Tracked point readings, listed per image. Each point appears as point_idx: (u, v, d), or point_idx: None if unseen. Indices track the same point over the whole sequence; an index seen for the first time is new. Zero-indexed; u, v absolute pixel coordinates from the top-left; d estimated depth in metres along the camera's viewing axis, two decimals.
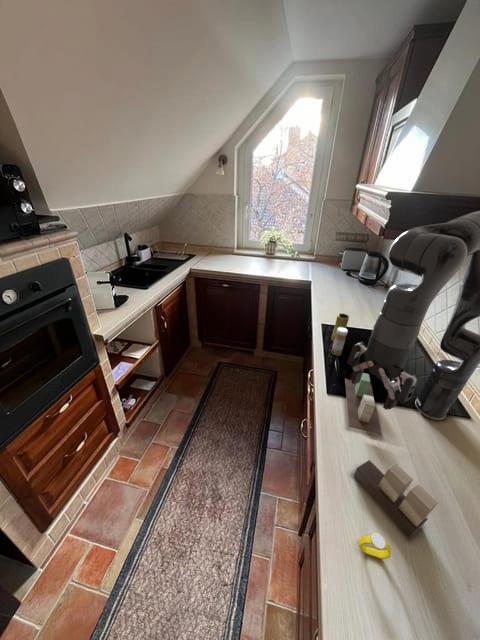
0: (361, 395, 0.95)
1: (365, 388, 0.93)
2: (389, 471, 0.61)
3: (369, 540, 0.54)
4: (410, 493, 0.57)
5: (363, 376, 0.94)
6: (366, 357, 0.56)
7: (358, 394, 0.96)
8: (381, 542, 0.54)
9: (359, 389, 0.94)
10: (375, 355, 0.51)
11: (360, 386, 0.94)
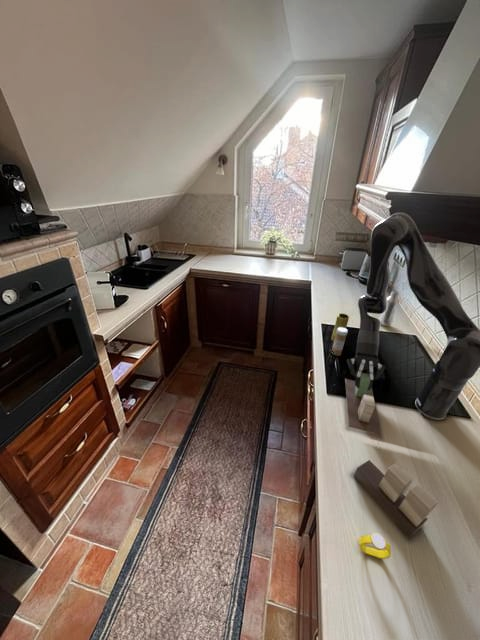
0: (361, 395, 0.95)
1: (365, 388, 0.93)
2: (389, 471, 0.61)
3: (369, 540, 0.54)
4: (410, 493, 0.57)
5: (363, 376, 0.94)
6: None
7: (358, 394, 0.96)
8: (381, 542, 0.54)
9: (359, 389, 0.94)
10: None
11: (360, 386, 0.94)
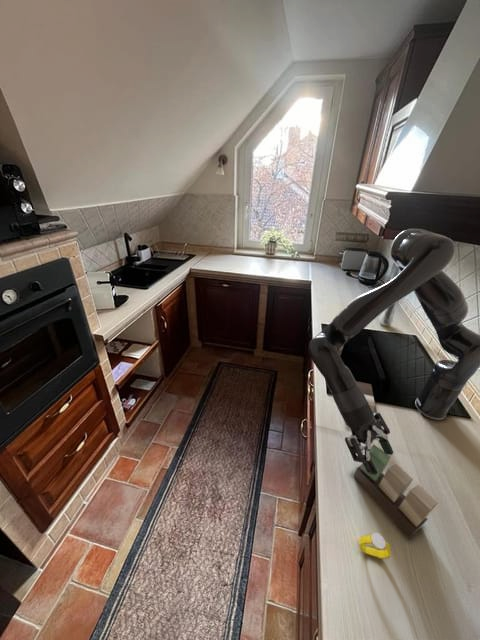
0: (379, 476, 0.67)
1: (385, 466, 0.65)
2: (389, 471, 0.61)
3: (369, 540, 0.54)
4: (410, 493, 0.57)
5: (377, 455, 0.64)
6: None
7: (377, 478, 0.66)
8: (381, 542, 0.54)
9: (380, 473, 0.65)
10: None
11: (382, 470, 0.64)
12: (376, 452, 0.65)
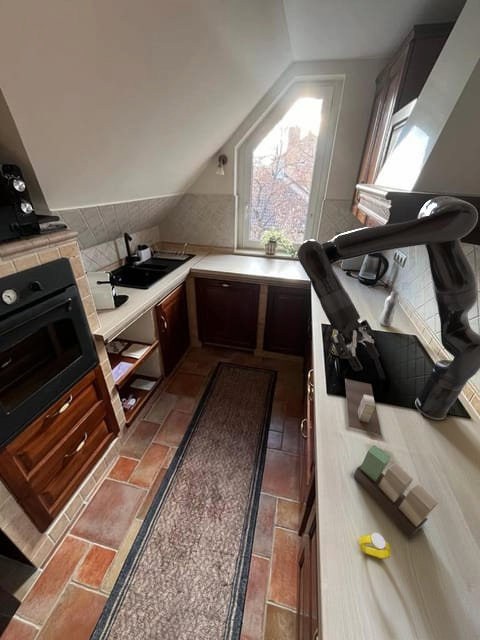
0: (379, 476, 0.67)
1: (385, 466, 0.65)
2: (389, 471, 0.61)
3: (369, 540, 0.54)
4: (410, 493, 0.57)
5: (377, 455, 0.64)
6: None
7: (377, 478, 0.66)
8: (381, 542, 0.54)
9: (380, 473, 0.65)
10: None
11: (382, 470, 0.64)
12: (376, 452, 0.65)
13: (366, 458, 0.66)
